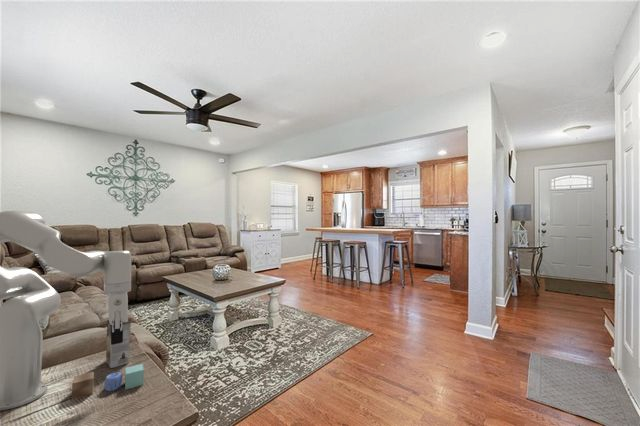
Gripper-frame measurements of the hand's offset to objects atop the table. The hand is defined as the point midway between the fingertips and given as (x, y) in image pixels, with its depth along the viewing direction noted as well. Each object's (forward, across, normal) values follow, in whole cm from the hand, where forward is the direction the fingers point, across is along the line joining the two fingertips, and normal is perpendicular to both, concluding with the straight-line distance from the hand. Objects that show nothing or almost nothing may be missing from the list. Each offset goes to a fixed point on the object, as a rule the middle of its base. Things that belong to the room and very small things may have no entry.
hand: (116, 342), depth 94 cm
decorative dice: (+15, 0, +1) cm, 15 cm away
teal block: (+15, -1, -5) cm, 16 cm away
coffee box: (+14, +21, 0) cm, 26 cm away
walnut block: (+14, +2, +9) cm, 17 cm away
